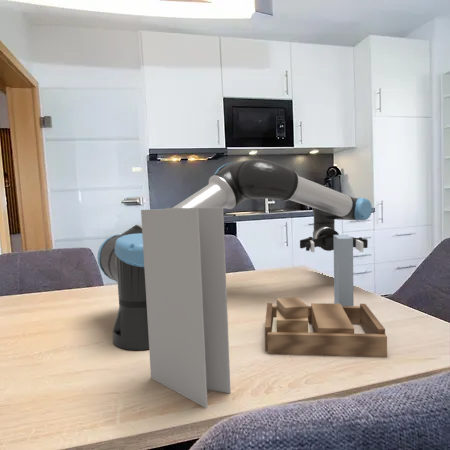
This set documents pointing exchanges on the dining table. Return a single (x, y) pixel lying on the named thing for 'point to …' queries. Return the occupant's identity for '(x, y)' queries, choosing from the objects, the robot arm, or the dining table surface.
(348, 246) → the grey rectangular block
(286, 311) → the offcut top
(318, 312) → the tray
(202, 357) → the brochure
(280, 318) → the plate
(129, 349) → the robot arm
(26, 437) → the dining table surface
